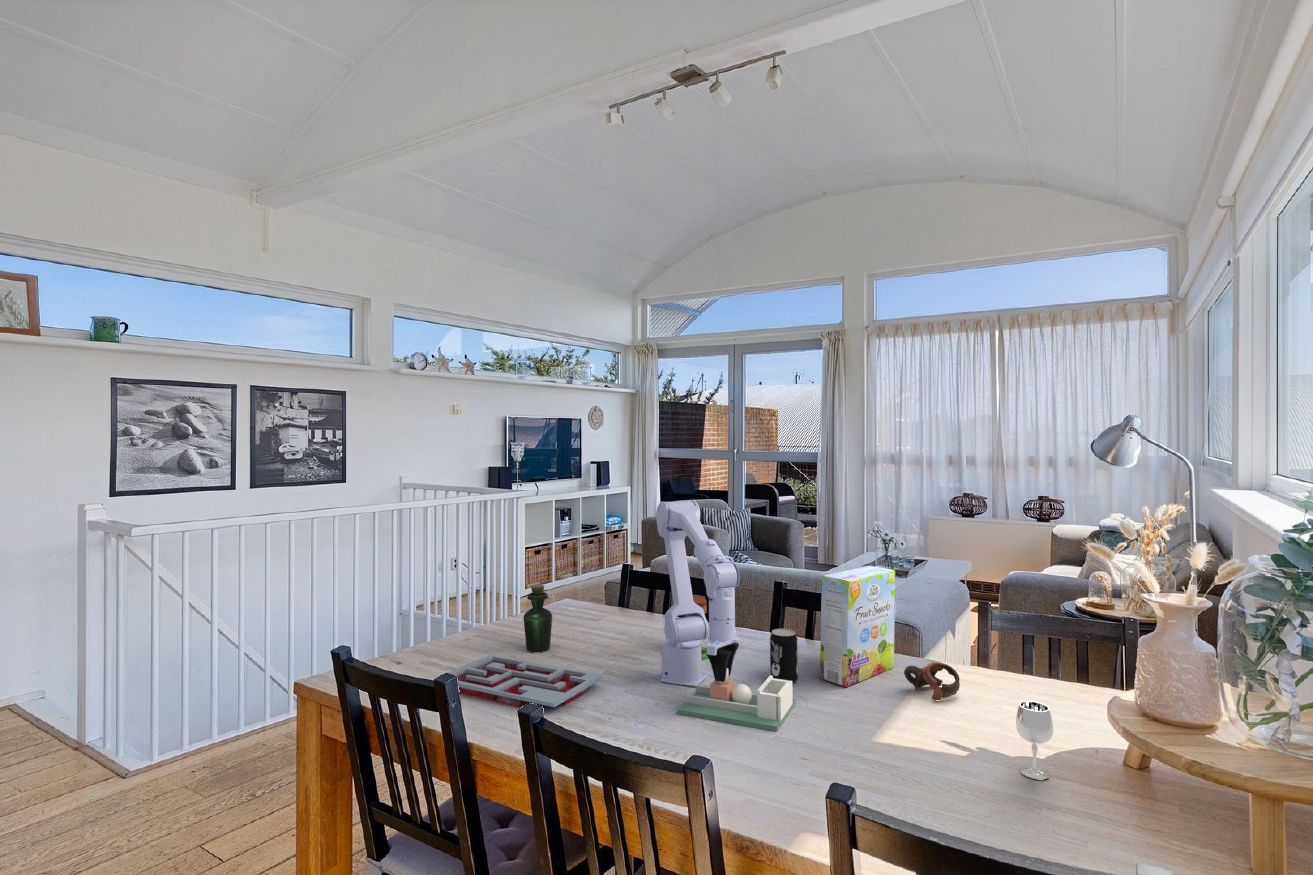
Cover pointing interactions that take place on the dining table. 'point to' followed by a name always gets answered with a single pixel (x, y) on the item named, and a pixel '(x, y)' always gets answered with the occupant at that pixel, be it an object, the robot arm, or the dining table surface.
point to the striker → (722, 689)
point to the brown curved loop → (933, 679)
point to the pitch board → (727, 710)
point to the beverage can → (784, 655)
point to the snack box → (857, 624)
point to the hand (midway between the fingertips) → (722, 678)
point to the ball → (742, 694)
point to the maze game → (522, 682)
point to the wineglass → (1034, 727)
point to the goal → (774, 699)
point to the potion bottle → (537, 621)
